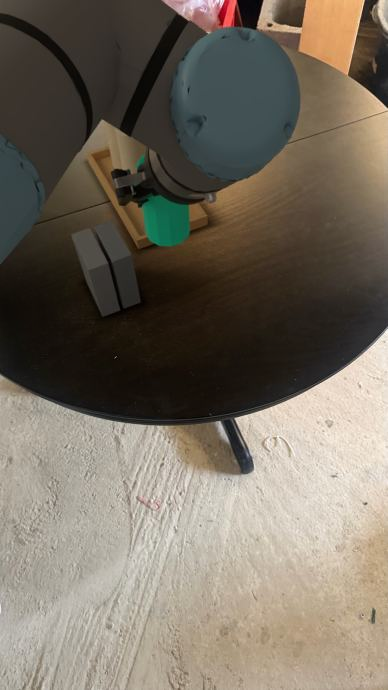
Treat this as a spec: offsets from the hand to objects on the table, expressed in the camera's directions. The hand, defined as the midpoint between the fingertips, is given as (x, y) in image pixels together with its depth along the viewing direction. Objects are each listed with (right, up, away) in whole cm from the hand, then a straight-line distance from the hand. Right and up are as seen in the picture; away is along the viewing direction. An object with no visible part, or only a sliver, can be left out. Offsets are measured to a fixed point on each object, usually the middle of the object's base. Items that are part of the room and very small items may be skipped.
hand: (158, 192), depth 63 cm
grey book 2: (-7, -11, +16) cm, 20 cm away
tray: (-5, +9, +29) cm, 31 cm away
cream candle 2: (-6, +11, +29) cm, 32 cm away
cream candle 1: (-9, +17, +33) cm, 38 cm away
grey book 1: (-10, -12, +15) cm, 22 cm away
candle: (+1, -5, +1) cm, 5 cm away
